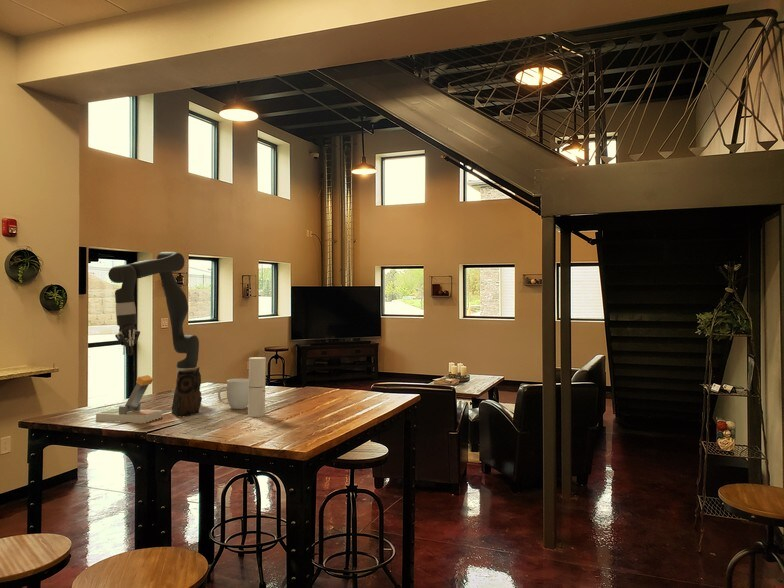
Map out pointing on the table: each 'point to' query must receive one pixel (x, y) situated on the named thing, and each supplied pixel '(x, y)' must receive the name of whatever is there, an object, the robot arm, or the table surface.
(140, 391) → the lever
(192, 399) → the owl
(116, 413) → the switch panel
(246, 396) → the mug
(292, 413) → the table surface
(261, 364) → the white tall block
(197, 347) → the robot arm
